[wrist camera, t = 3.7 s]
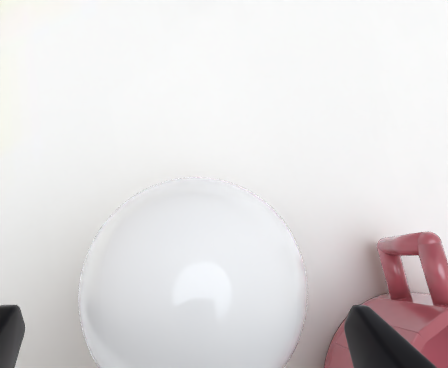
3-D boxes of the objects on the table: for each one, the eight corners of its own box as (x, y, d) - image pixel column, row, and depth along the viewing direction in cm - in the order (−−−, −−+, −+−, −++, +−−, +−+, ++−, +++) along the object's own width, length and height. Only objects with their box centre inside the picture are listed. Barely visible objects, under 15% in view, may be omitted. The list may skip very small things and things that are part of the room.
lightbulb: (118, 222, 18) (40, 155, 7) (238, 211, 19) (324, 138, 8) (124, 354, 16) (39, 514, 6) (253, 334, 17) (381, 438, 7)
